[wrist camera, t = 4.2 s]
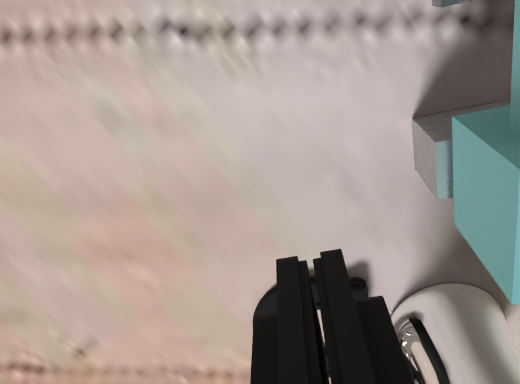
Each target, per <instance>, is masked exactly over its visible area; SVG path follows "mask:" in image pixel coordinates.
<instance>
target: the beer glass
mask: <svg viewBox="0 0 520 384" xmlns="http://www.w3.org/2000/svg"><path fill="white" fill-rule="evenodd" d="M391 320H392V323H393V326H394V329H395V331H396V334H397V337H398V340H399V343H400V346H401V348H402V351H403V354H404V357H405V360H406V362H407V365H408V368H409V371H410V374H411V377H412V379H413V382H414V384H520V352H519V350H518V348H517V346H516V344H515V342H514V340H513V337H512V334H511V332H510V329H509V326H508V324H507V321H506V318H505V316H504V314H503V311H502V309H501V307H500V306H499V304H498V303H497V301H496V300H495V299H494V298H493V297H492V296H491V295H490V294H489V293H487V292H486V291H484V290H482V289H480V288H478V287H475V286H472V285H467V284H461V283H446V284H439V285H434V286H431V287H427V288H425V289H422V290H420V291H418V292H416V293H414V294H412V295H411V296H409V297H408V298H407V299H405V300H404V301H403V302H402V303H401V304H400V305H399V306H398V307H397V308H396V310H395V311H394V313H393V314H392V316H391Z"/></svg>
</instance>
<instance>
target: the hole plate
mask: <svg viewBox="0 0 520 384" xmlns="http://www.w3.org/2000/svg"><path fill="white" fill-rule="evenodd" d="M467 1H472V0H432V5H433V6H437V7H445V6H449V5H454V4H458V3H463V2H467Z"/></svg>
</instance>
